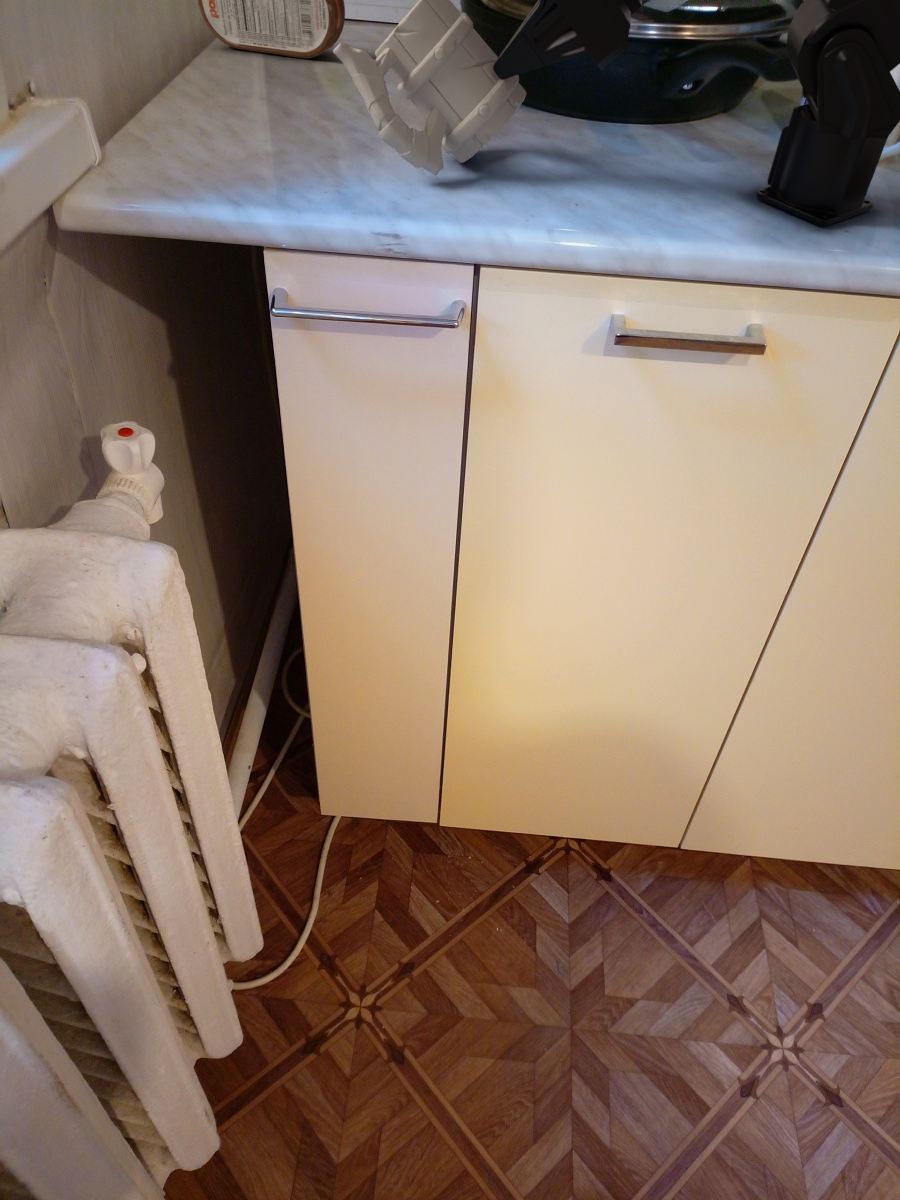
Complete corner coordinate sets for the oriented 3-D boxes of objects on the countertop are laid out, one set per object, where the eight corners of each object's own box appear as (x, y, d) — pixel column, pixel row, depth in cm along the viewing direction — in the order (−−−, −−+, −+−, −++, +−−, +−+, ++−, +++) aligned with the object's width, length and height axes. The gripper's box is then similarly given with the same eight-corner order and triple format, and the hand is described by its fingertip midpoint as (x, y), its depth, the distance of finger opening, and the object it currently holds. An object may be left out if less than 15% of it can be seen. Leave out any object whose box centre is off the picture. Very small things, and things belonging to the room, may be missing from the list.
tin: (347, 57, 88) (344, -44, 82) (336, 65, 86) (332, -38, 80) (213, 39, 90) (199, -60, 84) (199, 47, 88) (184, -55, 82)
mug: (546, 73, 65) (437, -74, 60) (465, 180, 62) (343, 35, 57) (491, 116, 72) (388, -12, 66) (415, 215, 69) (301, 88, 63)
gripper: (616, -244, 57) (443, -54, 66) (610, -234, 44) (397, 0, 53) (703, -83, 62) (533, 73, 71) (721, -32, 49) (510, 151, 58)
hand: (496, 72), depth 63 cm, fingers closed
